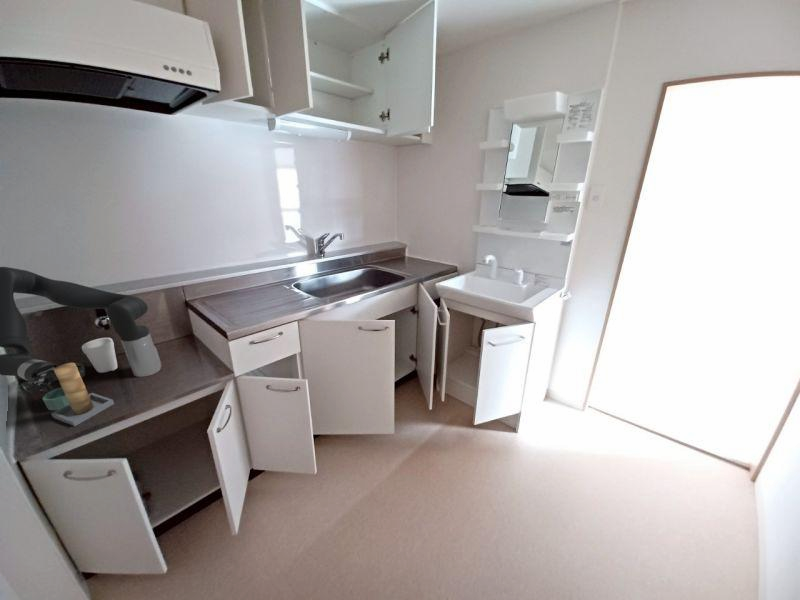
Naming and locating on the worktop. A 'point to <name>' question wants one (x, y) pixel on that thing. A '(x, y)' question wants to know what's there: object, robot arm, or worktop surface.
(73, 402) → the wooden dowel
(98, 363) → the foam cup
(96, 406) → the tray
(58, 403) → the holder pot
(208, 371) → the worktop surface
